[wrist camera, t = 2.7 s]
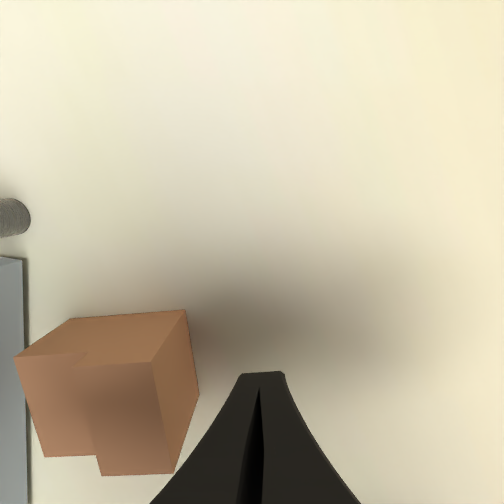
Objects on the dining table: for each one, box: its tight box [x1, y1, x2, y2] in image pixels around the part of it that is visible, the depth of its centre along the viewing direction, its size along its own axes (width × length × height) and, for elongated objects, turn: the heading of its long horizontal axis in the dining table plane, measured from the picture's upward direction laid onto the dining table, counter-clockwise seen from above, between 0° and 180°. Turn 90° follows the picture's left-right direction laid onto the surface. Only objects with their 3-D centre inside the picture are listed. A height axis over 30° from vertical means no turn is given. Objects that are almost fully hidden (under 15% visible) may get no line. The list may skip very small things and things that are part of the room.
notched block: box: [13, 310, 199, 476], centre depth 11 cm, size 5×4×4 cm
